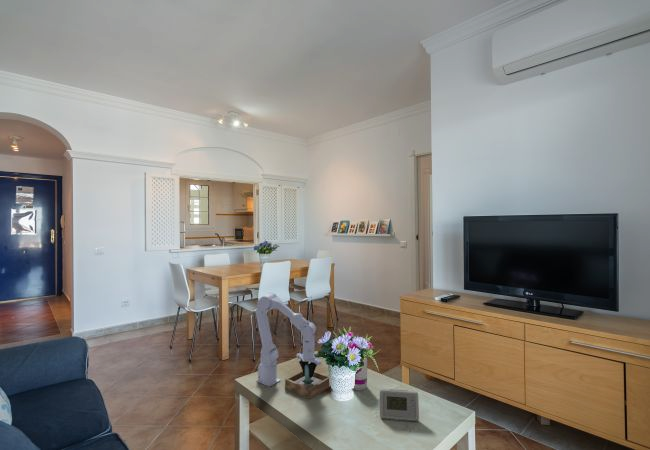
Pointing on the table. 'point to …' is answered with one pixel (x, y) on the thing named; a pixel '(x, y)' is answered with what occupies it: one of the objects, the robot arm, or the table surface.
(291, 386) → the box
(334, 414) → the table surface
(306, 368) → the peg
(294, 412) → the table surface
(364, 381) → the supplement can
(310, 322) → the robot arm
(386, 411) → the digital clock
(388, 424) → the table surface
